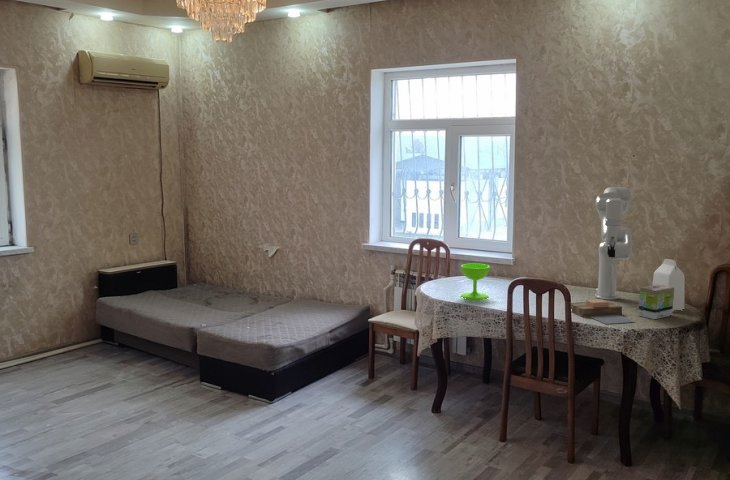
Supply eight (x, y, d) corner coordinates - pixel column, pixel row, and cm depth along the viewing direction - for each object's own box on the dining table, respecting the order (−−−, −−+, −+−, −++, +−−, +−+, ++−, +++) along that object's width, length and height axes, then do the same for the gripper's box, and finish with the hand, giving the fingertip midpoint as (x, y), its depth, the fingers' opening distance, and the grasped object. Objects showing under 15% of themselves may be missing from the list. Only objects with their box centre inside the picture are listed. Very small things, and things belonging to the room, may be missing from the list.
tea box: (656, 320, 328) (658, 290, 326) (637, 316, 336) (639, 287, 334) (672, 315, 337) (674, 286, 334) (654, 311, 345) (655, 283, 342)
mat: (589, 317, 333) (589, 316, 333) (617, 315, 337) (617, 314, 337) (605, 324, 320) (605, 323, 319) (635, 322, 323) (635, 321, 323)
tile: (586, 304, 342) (586, 300, 342) (601, 304, 344) (601, 299, 344) (592, 307, 336) (592, 302, 336) (608, 306, 338) (608, 301, 338)
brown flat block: (568, 310, 347) (568, 303, 346) (605, 308, 352) (606, 300, 351) (582, 317, 333) (583, 309, 333) (621, 314, 338) (622, 306, 338)
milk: (649, 306, 355) (652, 258, 351) (666, 304, 359) (669, 257, 355) (667, 312, 344) (670, 262, 340) (684, 310, 348) (687, 260, 344)
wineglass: (493, 296, 379) (494, 265, 377) (482, 301, 366) (483, 269, 364) (467, 293, 388) (467, 262, 385) (455, 298, 374) (456, 266, 372)
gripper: (604, 221, 354) (602, 253, 356) (605, 224, 337) (604, 257, 339) (619, 222, 352) (617, 254, 354) (621, 224, 335) (619, 258, 337)
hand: (611, 256), depth 346 cm, fingers open, 9 cm apart
